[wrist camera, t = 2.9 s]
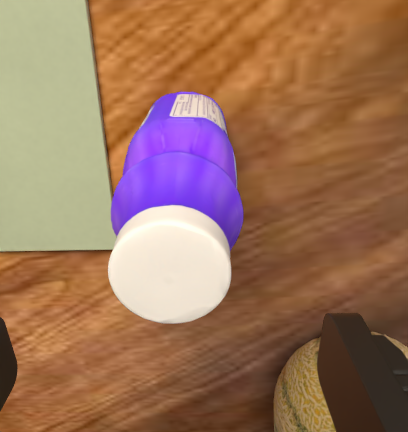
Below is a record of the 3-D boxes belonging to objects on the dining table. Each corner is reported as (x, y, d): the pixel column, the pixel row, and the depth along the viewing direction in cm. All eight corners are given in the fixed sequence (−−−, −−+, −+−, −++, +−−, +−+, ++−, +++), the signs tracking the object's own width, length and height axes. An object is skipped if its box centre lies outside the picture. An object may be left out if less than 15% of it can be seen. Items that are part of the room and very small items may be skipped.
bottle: (222, 186, 29) (250, 359, 14) (150, 185, 29) (93, 357, 13) (227, 89, 26) (270, 169, 10) (146, 87, 26) (65, 164, 10)
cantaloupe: (363, 416, 41) (443, 600, 28) (239, 389, 39) (260, 574, 26) (438, 316, 35) (587, 491, 22) (296, 278, 33) (362, 445, 20)
